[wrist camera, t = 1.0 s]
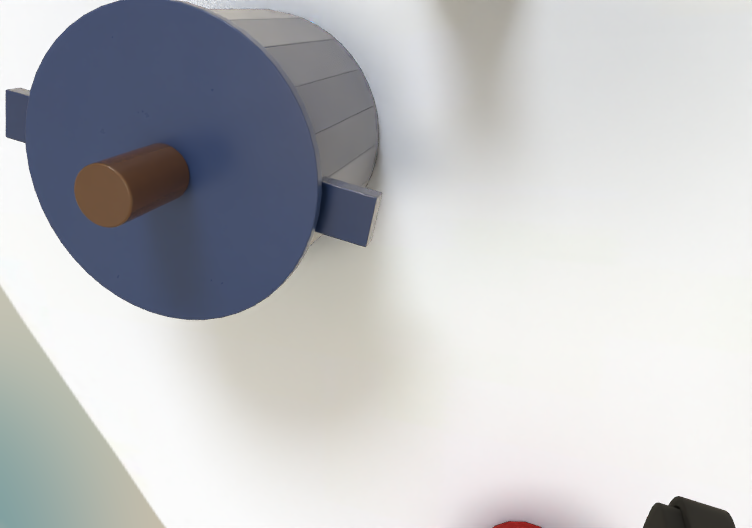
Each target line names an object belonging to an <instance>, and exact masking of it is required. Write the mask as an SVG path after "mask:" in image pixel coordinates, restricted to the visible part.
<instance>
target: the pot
mask: <svg viewBox="0 0 752 528" xmlns="http://www.w3.org/2000/svg"><path fill="white" fill-rule="evenodd" d="M209 10H211V11H213V12H215V13H217V14H219V15H221V16H223V17H225V18H227V19H228V20H230V21H231V22H233V23H234V24H236V25H237V26H239V27H240V28H242V29H243V30H245V31H246V32H247V33H249V34H250V35H251V36H252V37H253V38H254V39H255V40H256V41H258V42H259V43H260V44H261V45H262V46H263V47H264V48H265V49H266V50H267V51H268V52H269V53H270V54H271V56H272V57H273V58H274V59H275V60H276V61H277V62H278V63H279V65H280V66H281V67H282V69H283V70H284V72H285V73H286V75H287V76H288V77H289V79H290V80H291V82H292V83H293V85H294V86H295V88H296V90H297V92H298V94H299V96H300V98H301V100H302V102H303V103H304V105H305V108H306V110H307V113H308V116H309V118H310V121H311V123H312V126H313V129H314V133H315V137H316V141H317V144H318V148H319V155H320V162H321V170H322V196H321V204H320V212H319V217H318V221H317V225H316V229H315V232H314V235H313V238H312V240H311V242H310V245H309V246H311V245H312V244H313V243H314V242H315V241H316V240H317V239H318V238H319V237H321V236H322V235H323V234H324V235H328V236H331V237H334V238H337V239H341V240H344V241H347V242H350V243H354V244H357V245H360V246H364V247H366V246H367V245H368V244H369V242H370V241H371V240H372V236H373V231H374V227H375V222H376V218H377V214H378V209H379V205H380V201H381V196H382V193H381V192H378V191H375V190H371V189H368V188H366V186H367V184H368V181H369V179H370V177H371V175H372V172H373V169H374V165H375V162H376V157H377V151H378V141H379V127H378V117H377V111H376V107H375V102H374V98H373V95H372V93H371V90H370V87H369V84H368V82H367V80H366V78H365V76H364V74H363V72H362V70H361V69H360V67H359V66H358V64H357V63H356V61H355V60H354V58H353V57H352V56H351V54H350V53H349V52H348V51H347V50H346V49H345V48H344V46H343V45H342V44H341V43H340V42H339V41H337V40H336V39H335V38H334V37H333V36H332V35H331V34H330V33H328V32H327V31H325V30H324V29H322V28H321V27H319V26H318V25H316V24H314V23H312V22H310V21H308V20H306V19H304V18H301V17H298V16H295V15H292V14H289V13H284V12H278V11H274V10H270V9H209ZM29 94H30V90H26V89H23V88H15V89H8V90H6V137H7V138H11V139H14V140H17V141H20V142H24V143H26V137H25V124H26V110H27V105H28V100H29Z"/></svg>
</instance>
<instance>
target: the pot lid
mask: <svg viewBox="0 0 752 528" xmlns="http://www.w3.org/2000/svg"><path fill="white" fill-rule="evenodd" d="M25 137H26V152H27V158H28V165H29V170H30V174H31V178H32V181H33V185H34V189H35V191H36V194H37V197H38V199H39V202H40V205H41V207H42V209H43V211H44V213H45V215H46V217H47V219H48V221H49V223H50V225H51V227H52V229H53V230H54V232H55V233H56V235H57V236H58V238H59V240H60V241H61V243H62V244H63V245H64V247H65V248H66V249H67V250H68V252H69V253H70V254H71V256H72V257H73V258H74V259H75V260H76V261H77V262H78V264H79V265H80V266H81V267H82V268H83V269H84V270H85V271H86V272H87V273H88V274H89V275H90V276H92V277H93V278H94V279H95V280H96V281H97V282H99V283H100V284H101V285H102V286H104V287H105V288H106V289H108V290H109V291H111V292H112V293H114V294H115V295H117V296H118V297H120V298H122V299H124V300H125V301H127V302H129V303H131V304H133V305H135V306H137V307H140V308H142V309H145V310H147V311H149V312H152V313H156V314H159V315H163V316H167V317H172V318H179V319H186V320H207V319H214V318H222V317H226V316H229V315H233V314H236V313H239V312H242V311H244V310H246V309H248V308H250V307H253V306H255V305H256V304H258V303H259V302H261V301H262V300H264V299H266V298H267V297H269V296H270V295H271V294H272V293H273V292H274V291H275V290H276V289H278V288H279V287H280V286H281V285H282V284H283V283H284V282H285V281H286V280H287V279H288V278H289V276H290V275H291V274H292V273H293V272H294V270H295V269H296V268H297V267H298V265H299V263H300V262H301V260H302V258H303V257H304V255H305V253H306V252H307V249H308V247H309V245H310V242H311V240H312V238H313V235H314V232H315V229H316V225H317V221H318V217H319V212H320V204H321V196H322V170H321V162H320V155H319V148H318V144H317V141H316V137H315V133H314V129H313V126H312V123H311V121H310V118H309V116H308V113H307V110H306V108H305V105H304V103H303V102H302V100H301V98H300V96H299V94H298V92H297V90H296V88H295V86H294V85H293V83H292V82H291V80H290V79H289V77H288V76H287V75H286V73H285V72H284V70H283V69H282V67H281V66H280V65H279V63H278V62H277V61H276V60H275V59H274V58H273V57H272V56H271V54H270V53H269V52H268V51H267V50H266V49H265V48H264V47H263V46H262V45H261V44H260V43H259V42H258V41H256V40H255V39H254V38H253V37H252V36H251V35H250V34H249V33H247V32H246V31H245V30H243V29H242V28H240V27H239V26H237V25H236V24H234V23H233V22H231V21H230V20H228V19H227V18H225V17H223V16H221V15H219V14H217V13H215V12H213V11H211V10H209V9H206V8H203V7H201V6H198V5H195V4H192V3H189V2H185V1H179V0H119V1H116V2H113V3H110V4H107V5H103V6H101V7H99V8H97V9H95V10H93V11H91V12H89V13H87V14H85V15H83V16H82V17H81V18H79V19H78V20H77V21H75V22H74V23H73V24H71V25H70V26H69V27H68V28H67V29H66V30H65V31H64V32H63V33H62V34H61V35H60V36H59V37H58V38H57V39H56V40H55V42H54V43H53V45H52V46H51V47H50V49H49V50H48V52H47V53H46V54H45V56H44V58H43V60H42V62H41V64H40V66H39V68H38V70H37V72H36V75H35V78H34V81H33V84H32V87H31V90H30V94H29V100H28V105H27V110H26V124H25Z"/></svg>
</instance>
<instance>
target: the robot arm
mask: <svg viewBox="0 0 752 528" xmlns="http://www.w3.org/2000/svg"><path fill="white" fill-rule="evenodd" d="M643 528H735V525H734V522H733V519H732V517H731V516H730V514H729V513H728V512H727V511H725V510H722V509H719V508H715V507H712V506H709V505H706V504H703V503H699V502H696V501H693V500H690V499H686V498H683V497H680V496H677V497H674V499H673V500H672V501H671V502H670V504H669V505H665V504H661V503H655V504H654V506H653V507H652V509H651V510H650V512H649V515H648V517H647V519H646V522H645V524H644V526H643Z"/></svg>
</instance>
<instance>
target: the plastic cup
mask: <svg viewBox="0 0 752 528" xmlns="http://www.w3.org/2000/svg"><path fill="white" fill-rule="evenodd" d="M493 528H541V527H539V526H536V525H533V524H530V523H527V522H513V521H508V522H505V523H502V524H499V525H496V526H494V527H493Z"/></svg>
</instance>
